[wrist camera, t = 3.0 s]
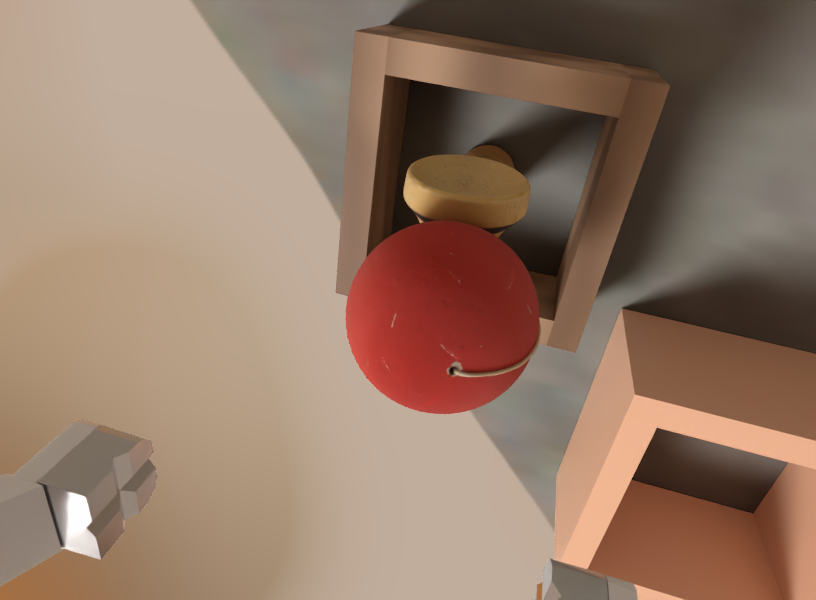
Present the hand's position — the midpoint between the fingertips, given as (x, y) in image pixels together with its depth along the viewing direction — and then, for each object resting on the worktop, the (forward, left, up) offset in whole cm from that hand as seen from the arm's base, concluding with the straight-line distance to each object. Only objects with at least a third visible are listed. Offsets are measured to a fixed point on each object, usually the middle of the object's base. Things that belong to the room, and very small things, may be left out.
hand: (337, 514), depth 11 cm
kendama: (0, 0, -23) cm, 23 cm away
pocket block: (0, 0, -23) cm, 23 cm away
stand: (-16, +13, -23) cm, 31 cm away
